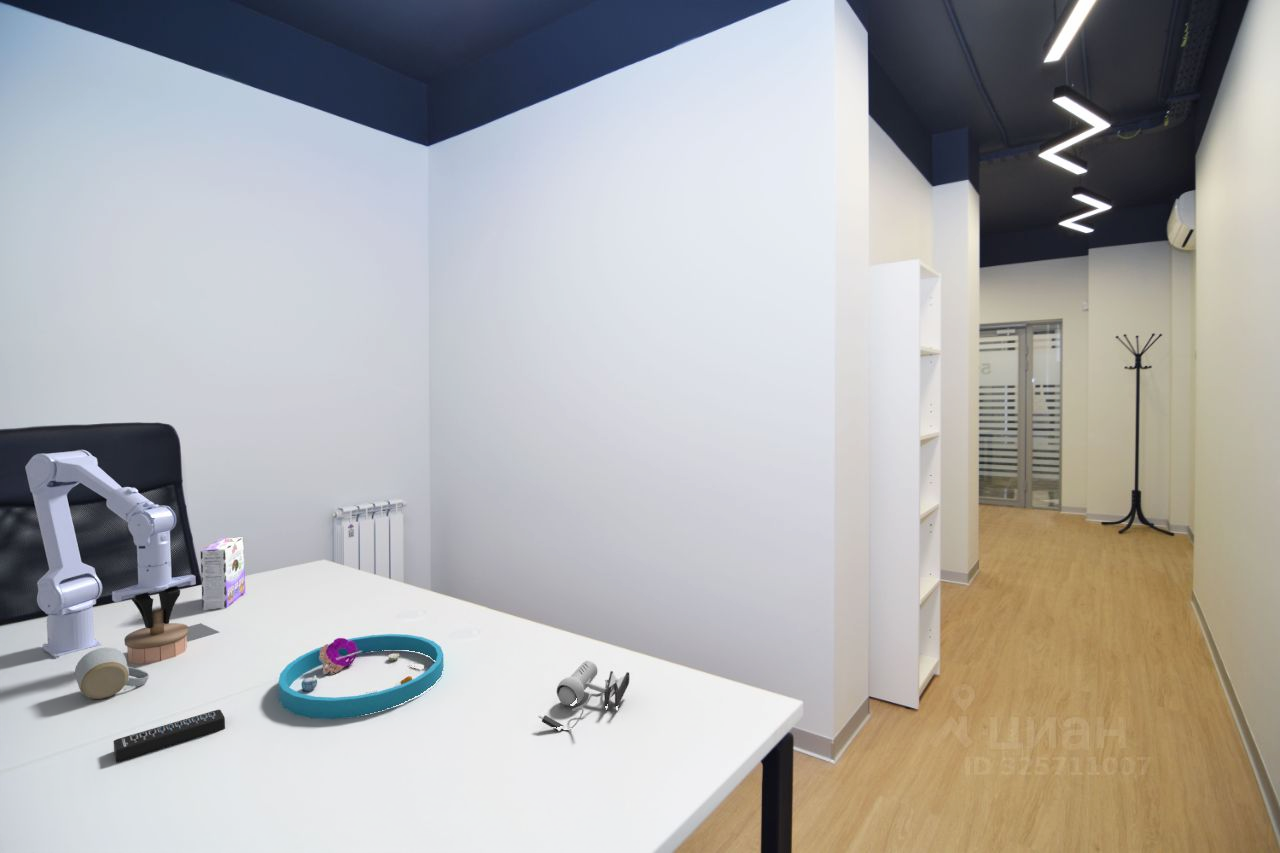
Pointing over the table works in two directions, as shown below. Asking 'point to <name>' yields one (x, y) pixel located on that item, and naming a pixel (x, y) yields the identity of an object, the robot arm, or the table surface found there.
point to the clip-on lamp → (579, 682)
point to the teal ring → (350, 649)
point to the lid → (156, 633)
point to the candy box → (222, 573)
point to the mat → (199, 631)
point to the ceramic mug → (106, 673)
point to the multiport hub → (168, 735)
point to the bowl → (157, 652)
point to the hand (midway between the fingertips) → (157, 624)
